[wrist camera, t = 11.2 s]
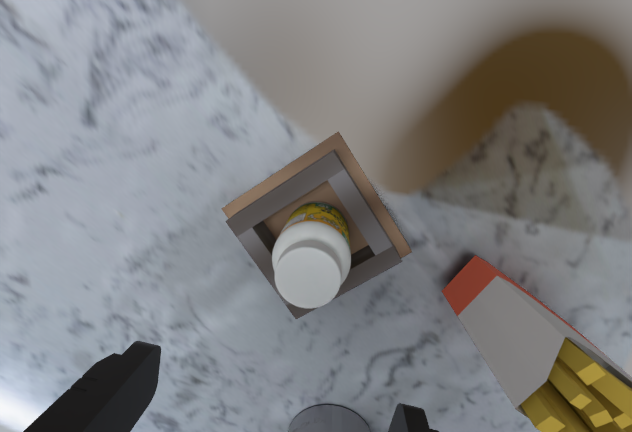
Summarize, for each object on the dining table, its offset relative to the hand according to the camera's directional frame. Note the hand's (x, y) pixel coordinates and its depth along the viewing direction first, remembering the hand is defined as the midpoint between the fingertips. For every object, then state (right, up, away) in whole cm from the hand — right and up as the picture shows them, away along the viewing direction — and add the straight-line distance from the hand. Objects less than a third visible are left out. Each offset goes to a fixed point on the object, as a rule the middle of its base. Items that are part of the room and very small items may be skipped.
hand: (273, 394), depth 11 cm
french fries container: (+18, -1, +20) cm, 27 cm away
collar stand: (+2, +5, +19) cm, 20 cm away
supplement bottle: (+2, +5, +18) cm, 19 cm away
